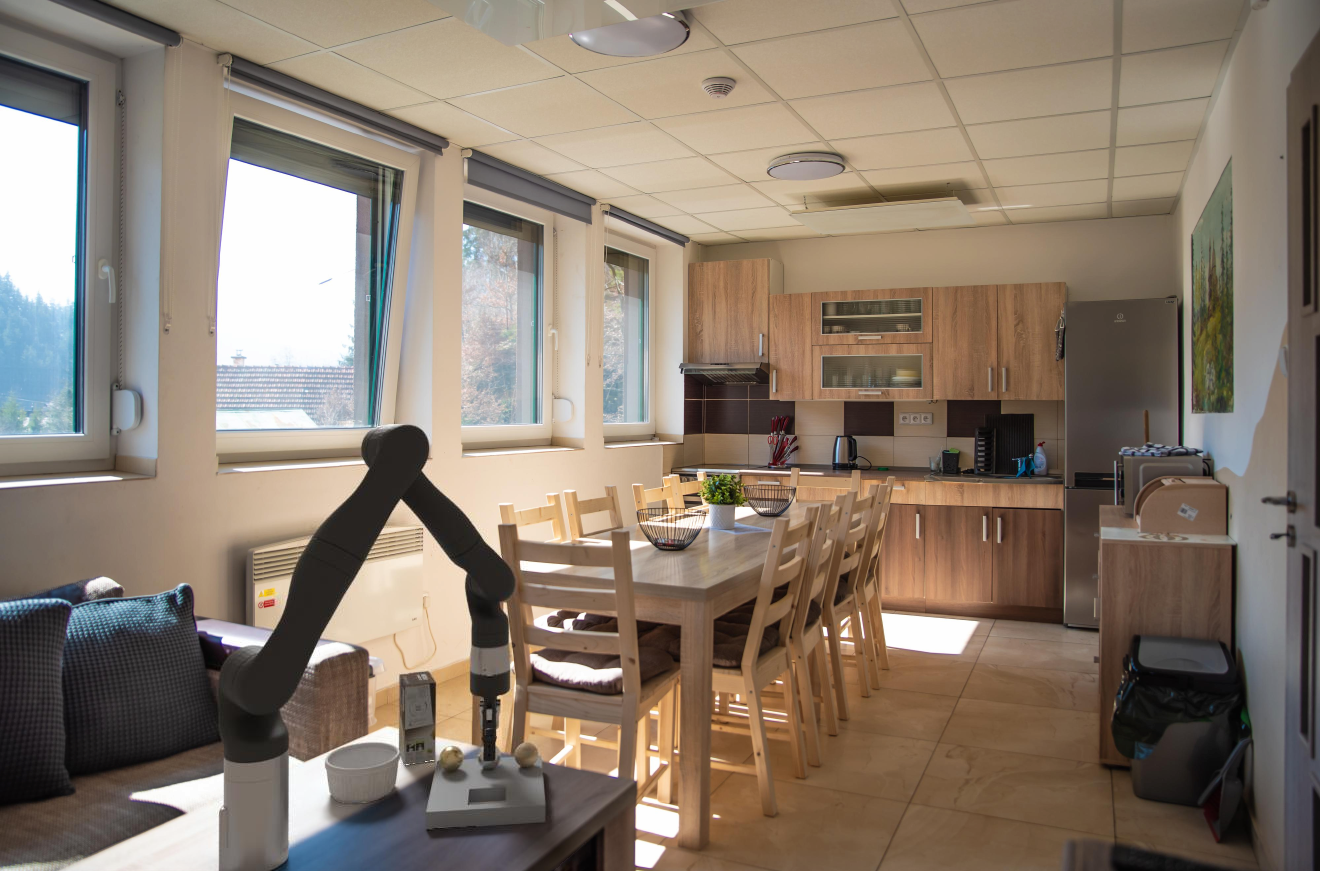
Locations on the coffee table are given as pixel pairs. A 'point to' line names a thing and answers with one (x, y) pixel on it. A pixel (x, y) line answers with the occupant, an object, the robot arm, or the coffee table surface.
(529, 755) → the oak ball
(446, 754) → the brass ball
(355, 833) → the coffee table surface
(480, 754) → the steel ball
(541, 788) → the board
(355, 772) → the ramekin
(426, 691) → the coffee box
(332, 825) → the coffee table surface
